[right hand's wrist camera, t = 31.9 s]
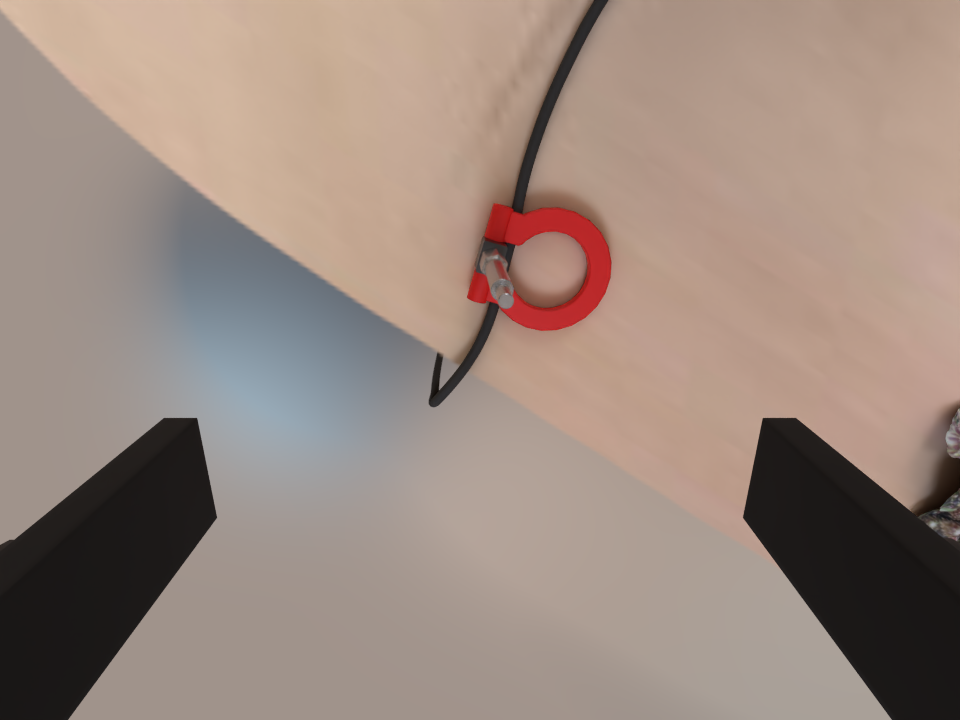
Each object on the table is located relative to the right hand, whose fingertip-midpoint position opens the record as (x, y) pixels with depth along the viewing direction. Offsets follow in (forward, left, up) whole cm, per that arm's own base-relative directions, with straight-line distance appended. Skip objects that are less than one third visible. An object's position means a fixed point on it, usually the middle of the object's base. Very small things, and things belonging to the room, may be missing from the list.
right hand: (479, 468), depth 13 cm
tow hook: (+2, -4, -27) cm, 27 cm away
